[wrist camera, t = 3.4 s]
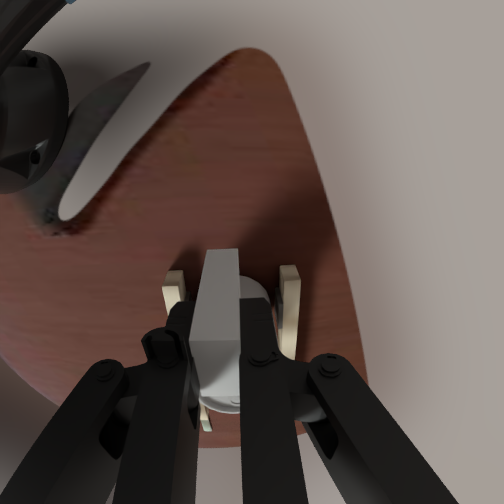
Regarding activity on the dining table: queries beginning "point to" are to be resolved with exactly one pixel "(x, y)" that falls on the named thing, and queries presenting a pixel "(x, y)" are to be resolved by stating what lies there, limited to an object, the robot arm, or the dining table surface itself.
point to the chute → (284, 311)
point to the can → (255, 290)
